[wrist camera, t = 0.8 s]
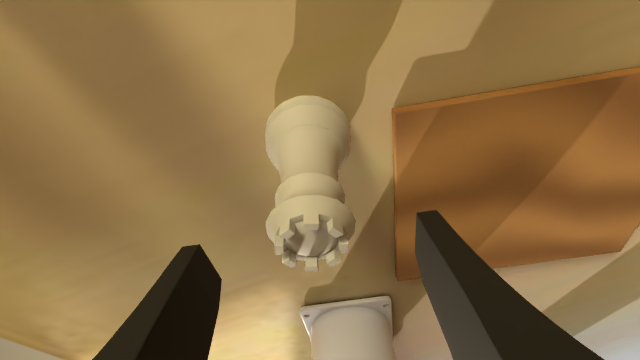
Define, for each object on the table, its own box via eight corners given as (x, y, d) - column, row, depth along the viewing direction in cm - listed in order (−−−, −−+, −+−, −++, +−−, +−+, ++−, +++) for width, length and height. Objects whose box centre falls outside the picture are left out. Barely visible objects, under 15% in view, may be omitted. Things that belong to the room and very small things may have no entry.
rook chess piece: (298, 176, 19) (296, 299, 13) (248, 120, 17) (215, 240, 10) (364, 139, 18) (398, 258, 11) (319, 73, 15) (332, 177, 9)
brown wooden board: (614, 245, 25) (620, 252, 24) (395, 275, 26) (397, 281, 25) (744, 48, 15) (758, 52, 15) (391, 107, 16) (394, 113, 16)
